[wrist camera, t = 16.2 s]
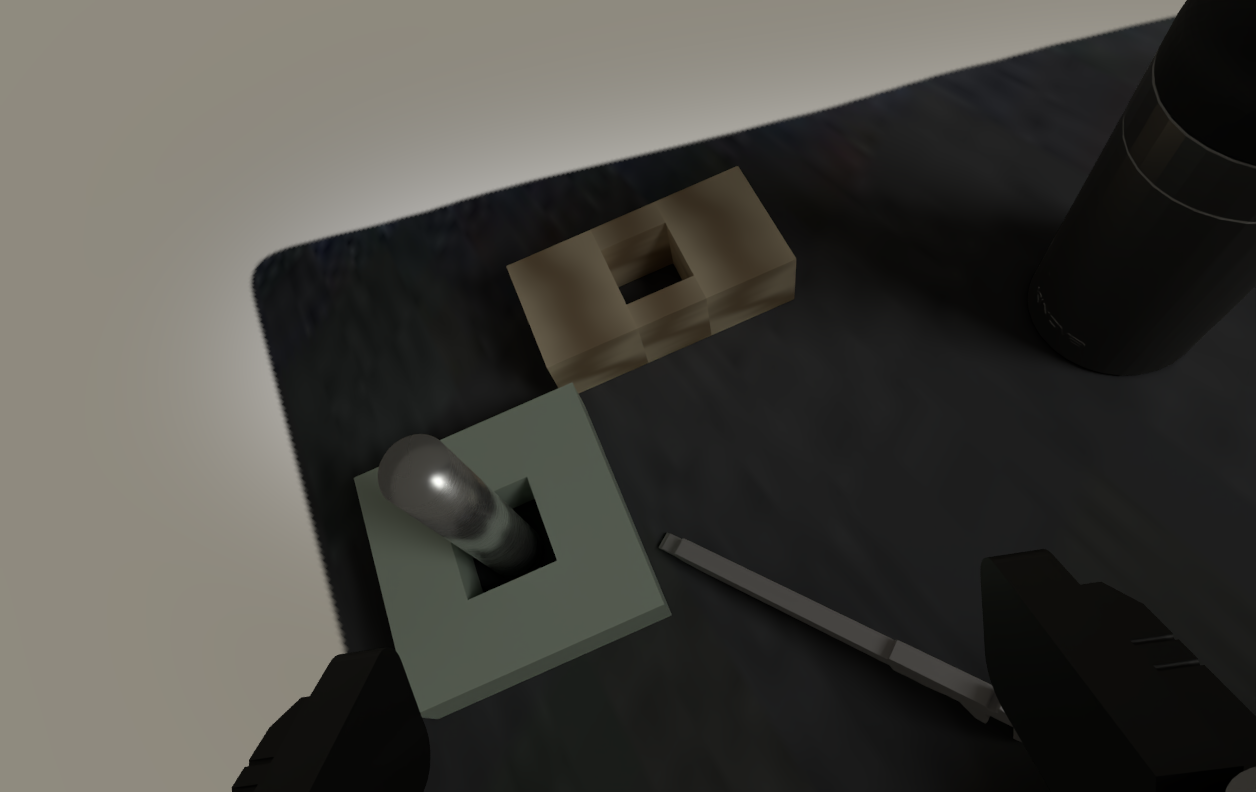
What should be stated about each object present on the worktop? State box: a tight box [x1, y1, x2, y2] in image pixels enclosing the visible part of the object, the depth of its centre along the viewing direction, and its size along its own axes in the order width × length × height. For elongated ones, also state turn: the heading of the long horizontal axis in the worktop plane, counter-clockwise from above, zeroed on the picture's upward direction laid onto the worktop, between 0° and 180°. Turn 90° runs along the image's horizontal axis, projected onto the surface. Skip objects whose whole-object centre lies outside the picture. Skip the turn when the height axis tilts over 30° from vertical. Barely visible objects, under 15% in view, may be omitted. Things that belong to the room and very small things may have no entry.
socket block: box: [354, 383, 672, 719], centre depth 44 cm, size 14×14×4 cm
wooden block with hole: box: [506, 166, 796, 394], centre depth 49 cm, size 16×8×4 cm, turn 112°
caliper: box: [659, 533, 1022, 742], centre depth 39 cm, size 20×1×6 cm, turn 60°
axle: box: [378, 434, 545, 580], centre depth 39 cm, size 3×3×15 cm
